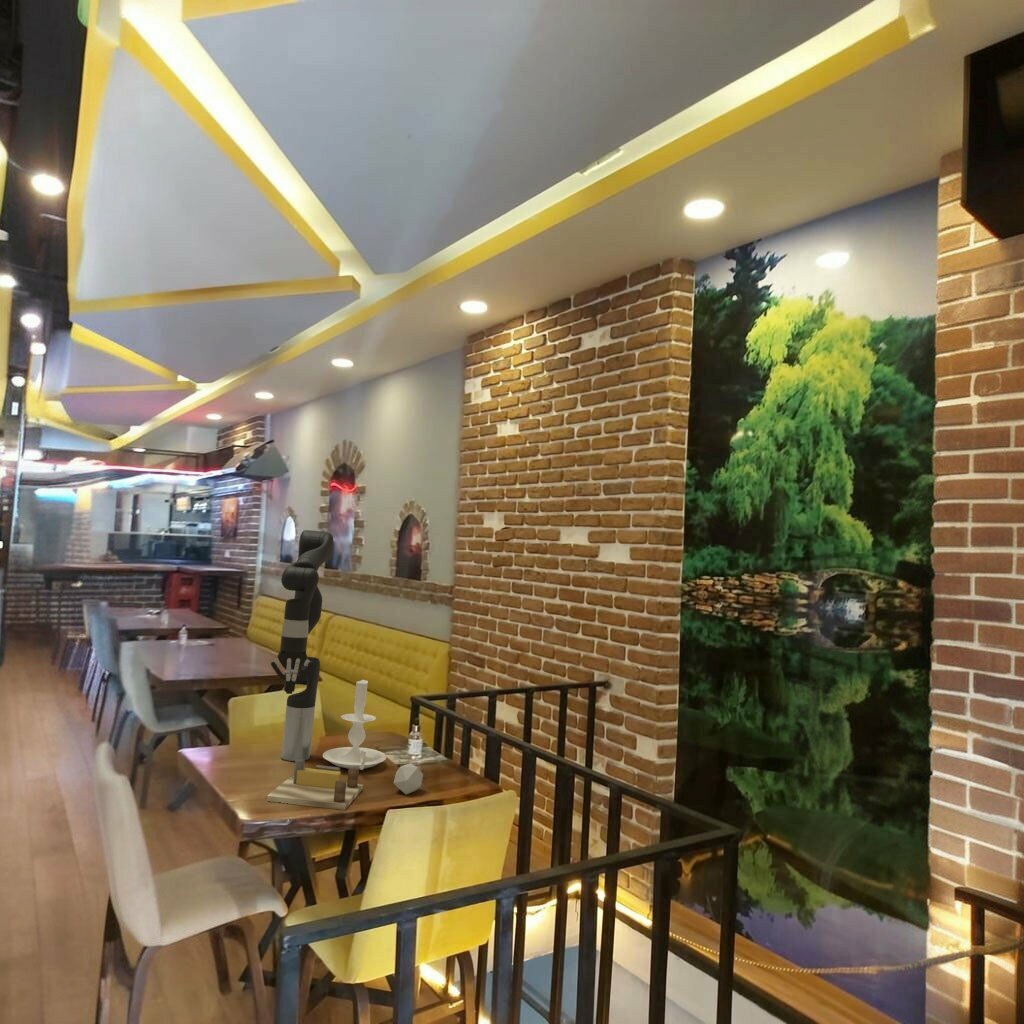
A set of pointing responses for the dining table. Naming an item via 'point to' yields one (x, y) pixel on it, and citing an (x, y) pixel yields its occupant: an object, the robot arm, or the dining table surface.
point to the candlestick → (356, 737)
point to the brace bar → (314, 776)
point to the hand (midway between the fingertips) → (288, 693)
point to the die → (408, 778)
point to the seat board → (319, 792)
